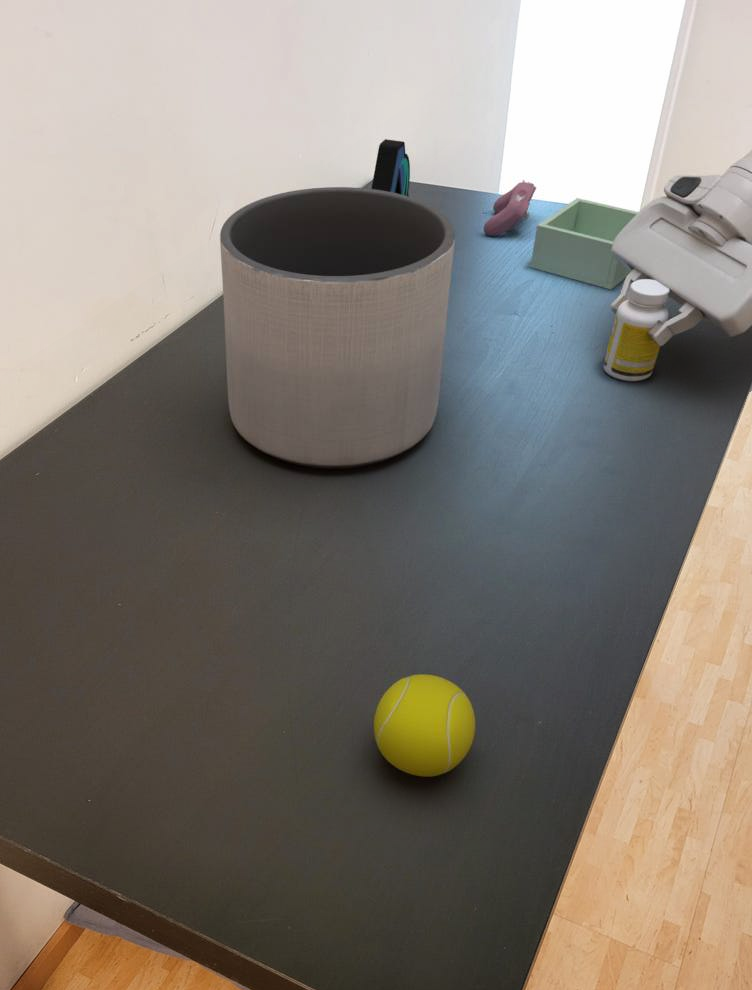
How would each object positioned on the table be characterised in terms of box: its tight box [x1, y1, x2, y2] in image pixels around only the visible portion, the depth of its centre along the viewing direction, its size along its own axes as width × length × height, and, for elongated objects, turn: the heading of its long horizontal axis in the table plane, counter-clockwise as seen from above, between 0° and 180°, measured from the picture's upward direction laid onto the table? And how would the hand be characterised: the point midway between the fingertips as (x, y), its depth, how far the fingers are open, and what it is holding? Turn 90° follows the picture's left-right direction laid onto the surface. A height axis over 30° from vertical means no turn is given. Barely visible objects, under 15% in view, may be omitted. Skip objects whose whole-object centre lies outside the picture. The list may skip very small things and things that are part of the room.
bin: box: [529, 197, 640, 290], centre depth 124 cm, size 12×12×6 cm
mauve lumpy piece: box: [483, 179, 537, 237], centre depth 134 cm, size 10×5×7 cm, turn 161°
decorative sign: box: [370, 138, 411, 197], centre depth 123 cm, size 19×2×15 cm, turn 155°
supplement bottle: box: [603, 279, 670, 382], centre depth 103 cm, size 5×5×10 cm
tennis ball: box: [373, 673, 476, 778], centre depth 66 cm, size 7×7×7 cm
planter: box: [219, 186, 456, 469], centre depth 93 cm, size 22×22×20 cm
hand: (633, 326), depth 102 cm, fingers closed on supplement bottle, 5 cm apart
